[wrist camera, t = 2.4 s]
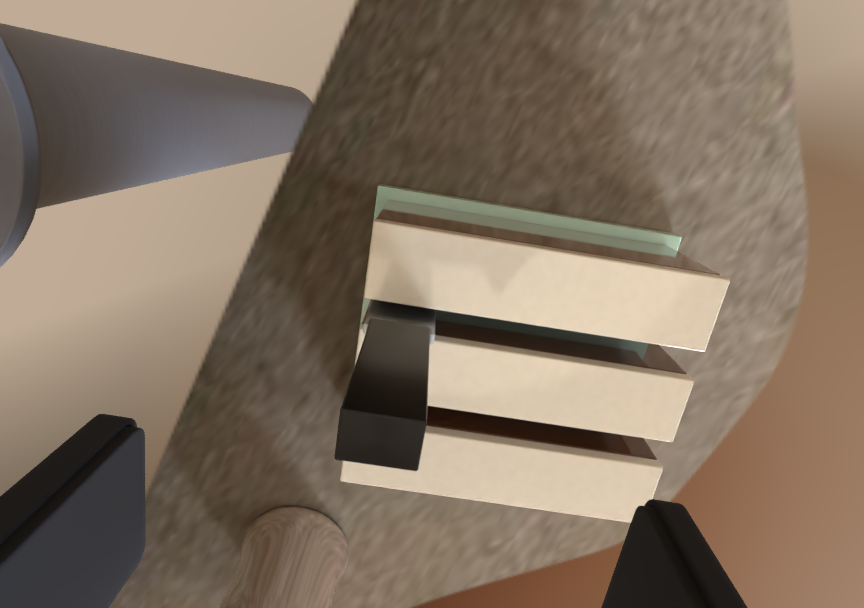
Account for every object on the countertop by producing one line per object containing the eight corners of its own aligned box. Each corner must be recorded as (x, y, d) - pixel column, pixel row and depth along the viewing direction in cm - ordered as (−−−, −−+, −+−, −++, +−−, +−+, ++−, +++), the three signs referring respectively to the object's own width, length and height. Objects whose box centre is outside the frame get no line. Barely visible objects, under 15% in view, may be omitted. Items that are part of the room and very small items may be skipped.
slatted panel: (349, 411, 29) (326, 490, 23) (379, 183, 25) (360, 204, 19) (607, 449, 29) (651, 536, 23) (675, 233, 25) (749, 268, 19)
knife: (380, 288, 26) (322, 459, 13) (384, 259, 25) (329, 406, 12) (432, 296, 26) (428, 474, 13) (437, 268, 25) (438, 422, 12)
